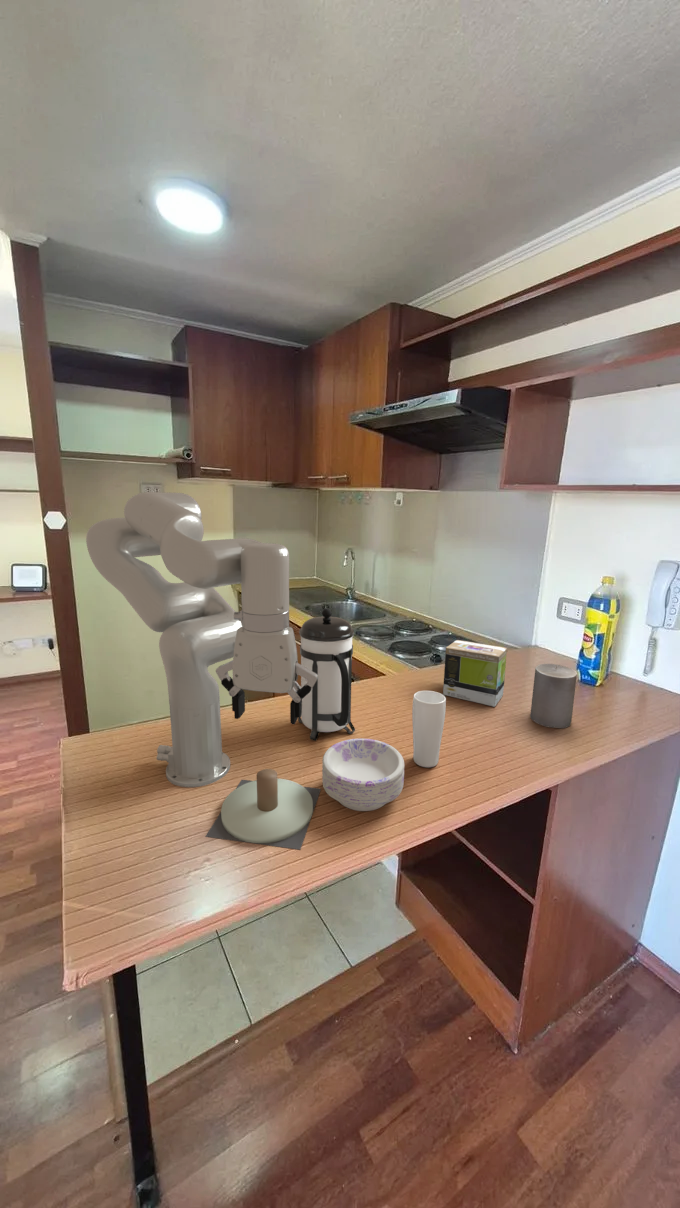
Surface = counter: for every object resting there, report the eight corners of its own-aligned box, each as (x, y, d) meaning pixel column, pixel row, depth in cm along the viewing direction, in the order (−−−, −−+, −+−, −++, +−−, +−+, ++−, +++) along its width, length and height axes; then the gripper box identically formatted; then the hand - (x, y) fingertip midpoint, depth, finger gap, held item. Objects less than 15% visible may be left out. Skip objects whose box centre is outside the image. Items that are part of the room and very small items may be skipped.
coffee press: (280, 735, 109) (278, 612, 102) (315, 709, 123) (315, 599, 116) (345, 754, 101) (348, 622, 94) (374, 724, 115) (378, 607, 108)
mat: (205, 838, 75) (205, 836, 75) (241, 781, 91) (241, 779, 91) (300, 851, 73) (300, 849, 73) (321, 790, 88) (321, 788, 88)
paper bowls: (339, 832, 77) (340, 790, 75) (311, 781, 91) (311, 745, 89) (418, 811, 83) (420, 771, 81) (380, 766, 96) (381, 732, 95)
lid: (205, 836, 75) (203, 797, 74) (241, 779, 91) (240, 746, 89) (300, 849, 73) (300, 809, 71) (321, 788, 88) (321, 754, 86)
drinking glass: (419, 750, 103) (423, 687, 100) (447, 760, 99) (452, 696, 96) (403, 762, 98) (407, 697, 95) (432, 774, 94) (436, 706, 90)
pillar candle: (544, 708, 125) (550, 656, 122) (579, 722, 117) (586, 667, 114) (522, 717, 120) (527, 663, 117) (556, 732, 112) (563, 675, 109)
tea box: (503, 695, 133) (508, 647, 130) (494, 708, 125) (499, 656, 122) (453, 684, 141) (456, 638, 138) (441, 695, 133) (445, 646, 129)
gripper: (205, 623, 72) (209, 723, 76) (313, 630, 69) (312, 734, 73) (224, 611, 79) (227, 704, 83) (322, 618, 76) (321, 712, 80)
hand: (267, 717), depth 78 cm, fingers open, 9 cm apart
